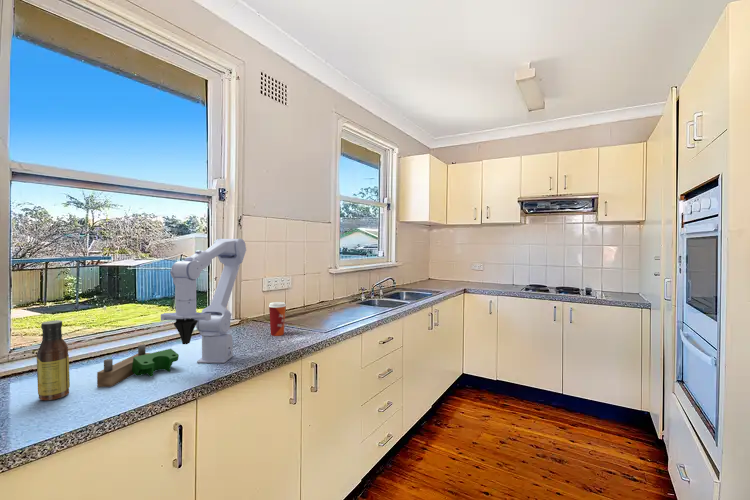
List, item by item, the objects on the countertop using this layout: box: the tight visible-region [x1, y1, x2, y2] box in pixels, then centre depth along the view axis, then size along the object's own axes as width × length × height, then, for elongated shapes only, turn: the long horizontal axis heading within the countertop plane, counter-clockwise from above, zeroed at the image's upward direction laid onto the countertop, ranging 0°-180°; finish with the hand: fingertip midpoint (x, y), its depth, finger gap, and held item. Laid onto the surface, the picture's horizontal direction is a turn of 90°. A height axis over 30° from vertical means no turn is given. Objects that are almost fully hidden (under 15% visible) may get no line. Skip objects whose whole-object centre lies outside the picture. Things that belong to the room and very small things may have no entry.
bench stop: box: [96, 343, 151, 388], centre depth 110 cm, size 4×18×7 cm, turn 0°
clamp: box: [132, 348, 180, 378], centre depth 113 cm, size 12×6×9 cm, turn 141°
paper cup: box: [268, 301, 287, 337], centre depth 161 cm, size 8×8×14 cm
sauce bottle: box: [36, 319, 71, 402], centre depth 94 cm, size 7×6×20 cm
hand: (186, 343), depth 112 cm, fingers closed
